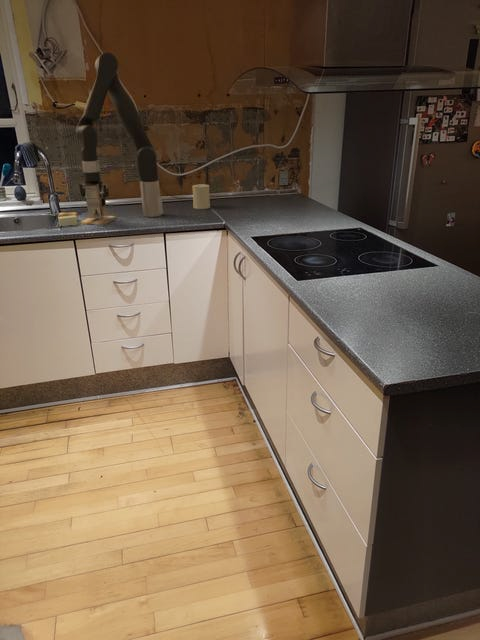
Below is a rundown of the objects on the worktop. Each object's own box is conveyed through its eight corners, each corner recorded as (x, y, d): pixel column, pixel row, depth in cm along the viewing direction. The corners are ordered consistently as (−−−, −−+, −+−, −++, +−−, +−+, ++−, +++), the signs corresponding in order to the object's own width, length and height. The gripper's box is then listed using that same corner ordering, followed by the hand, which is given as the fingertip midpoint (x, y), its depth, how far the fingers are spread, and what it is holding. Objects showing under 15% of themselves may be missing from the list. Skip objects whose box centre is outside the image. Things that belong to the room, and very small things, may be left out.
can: (189, 207, 264) (188, 185, 259) (201, 204, 270) (200, 182, 265) (201, 209, 259) (200, 186, 253) (213, 206, 265) (212, 184, 260)
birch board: (115, 218, 244) (115, 216, 243) (103, 225, 231) (103, 222, 231) (93, 217, 246) (93, 215, 246) (80, 224, 234) (79, 222, 233)
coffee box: (94, 214, 242) (89, 181, 235) (107, 214, 242) (102, 181, 235) (88, 218, 234) (83, 184, 227) (101, 218, 234) (97, 184, 227)
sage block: (76, 223, 236) (75, 215, 235) (77, 225, 233) (76, 216, 231) (59, 225, 233) (58, 217, 231) (60, 227, 230) (59, 218, 228)
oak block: (77, 220, 242) (76, 212, 240) (75, 222, 238) (74, 214, 237) (61, 220, 242) (60, 212, 240) (59, 222, 238) (57, 214, 236)
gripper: (109, 169, 231) (113, 204, 238) (81, 169, 233) (86, 204, 240) (101, 172, 224) (106, 208, 231) (73, 171, 227) (79, 207, 234)
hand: (96, 205), depth 236 cm, fingers closed on coffee box, 7 cm apart
